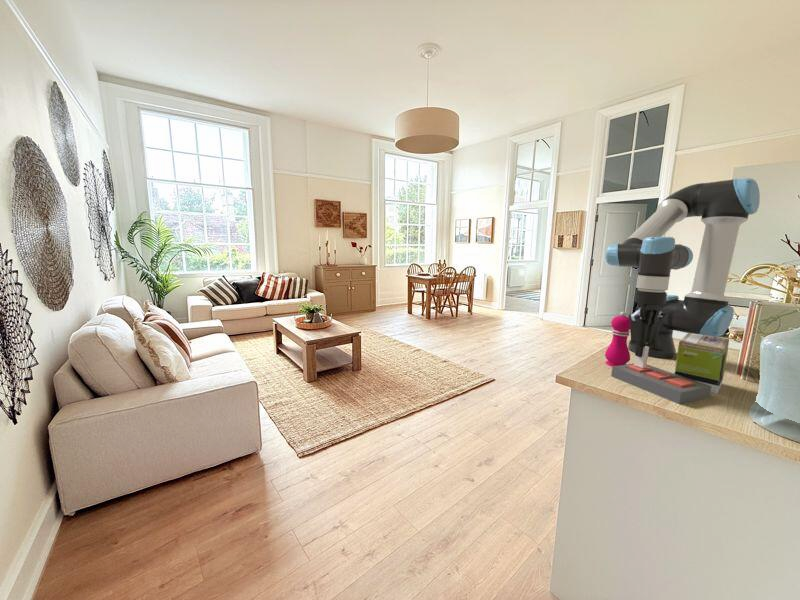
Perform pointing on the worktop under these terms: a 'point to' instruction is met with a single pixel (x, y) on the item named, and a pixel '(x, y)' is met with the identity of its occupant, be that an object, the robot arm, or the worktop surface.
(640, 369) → the button
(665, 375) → the button
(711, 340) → the tea box
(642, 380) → the power strip
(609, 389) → the worktop surface
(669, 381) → the button
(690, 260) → the robot arm
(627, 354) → the pepper mill
